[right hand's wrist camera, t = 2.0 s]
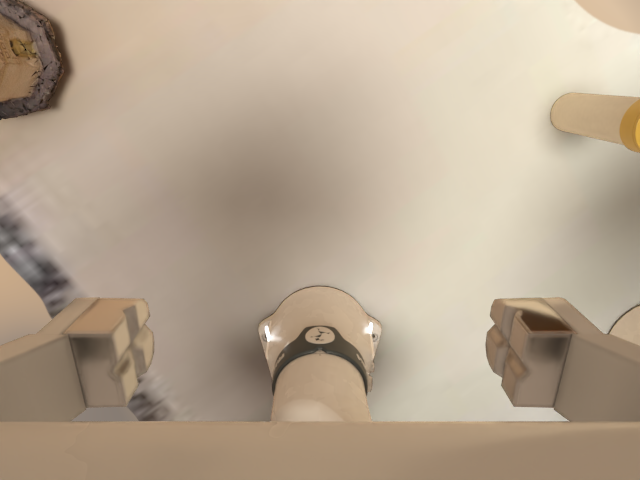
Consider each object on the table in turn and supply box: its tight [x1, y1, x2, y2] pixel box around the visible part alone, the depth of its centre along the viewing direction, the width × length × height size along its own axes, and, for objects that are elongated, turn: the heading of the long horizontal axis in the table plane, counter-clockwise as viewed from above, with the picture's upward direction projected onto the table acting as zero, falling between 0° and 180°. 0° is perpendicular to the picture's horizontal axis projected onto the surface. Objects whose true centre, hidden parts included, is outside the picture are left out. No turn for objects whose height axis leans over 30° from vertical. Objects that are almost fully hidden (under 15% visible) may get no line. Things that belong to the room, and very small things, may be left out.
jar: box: [550, 93, 640, 145], centre depth 47 cm, size 5×5×16 cm
